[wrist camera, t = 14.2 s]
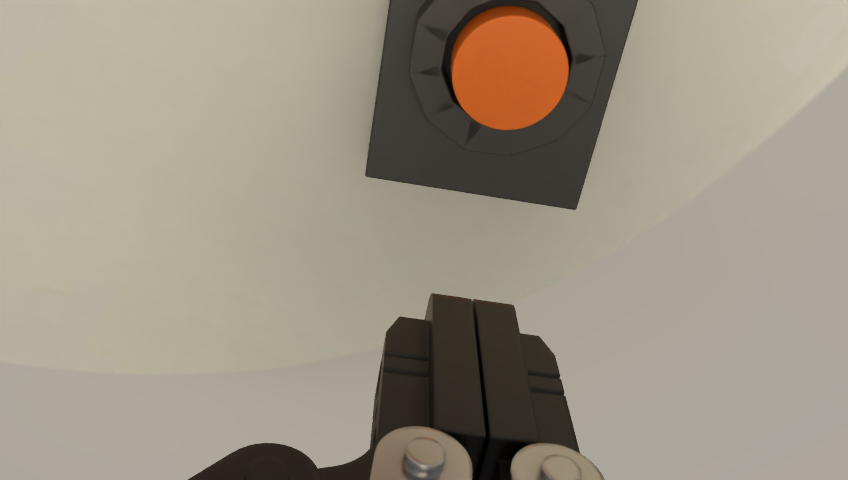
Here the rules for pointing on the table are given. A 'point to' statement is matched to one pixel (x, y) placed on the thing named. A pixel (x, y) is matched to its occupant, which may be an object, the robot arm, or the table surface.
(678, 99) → the table surface
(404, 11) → the dark piece
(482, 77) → the power button
